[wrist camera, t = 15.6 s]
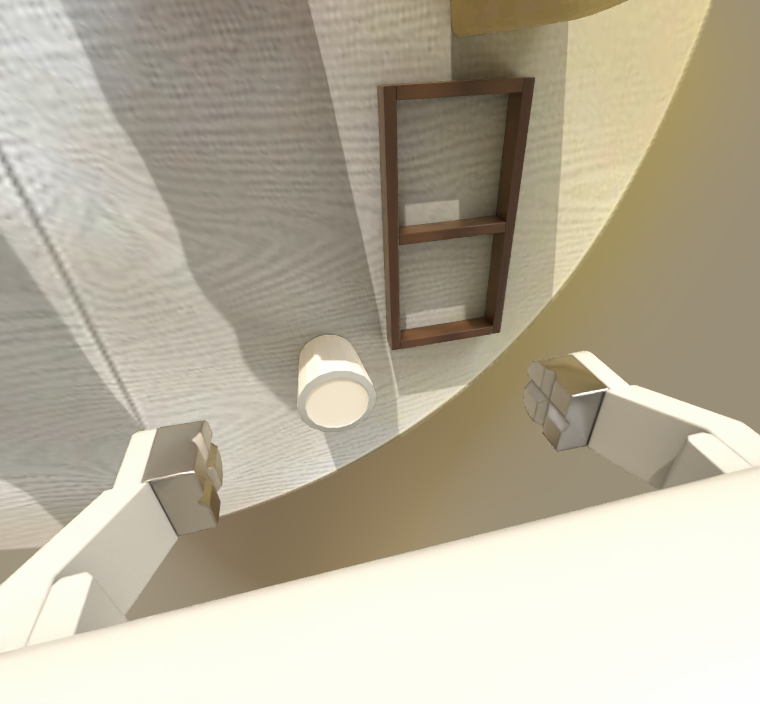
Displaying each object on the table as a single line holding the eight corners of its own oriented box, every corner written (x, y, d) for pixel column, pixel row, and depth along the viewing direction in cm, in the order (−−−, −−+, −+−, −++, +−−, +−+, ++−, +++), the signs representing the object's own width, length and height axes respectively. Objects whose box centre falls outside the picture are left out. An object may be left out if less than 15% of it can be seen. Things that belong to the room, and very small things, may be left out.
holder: (386, 340, 43) (392, 350, 41) (377, 84, 30) (383, 86, 29) (491, 323, 44) (500, 332, 43) (521, 76, 32) (535, 76, 31)
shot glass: (375, 352, 43) (392, 395, 37) (330, 396, 45) (340, 443, 39) (324, 315, 39) (334, 357, 34) (277, 365, 41) (280, 412, 36)
